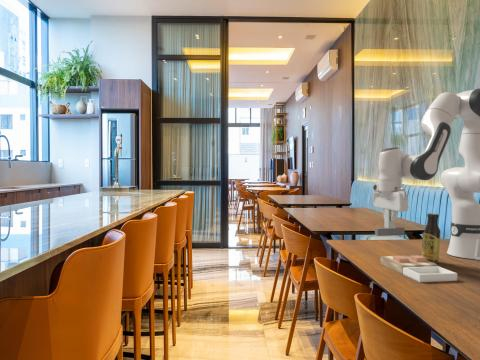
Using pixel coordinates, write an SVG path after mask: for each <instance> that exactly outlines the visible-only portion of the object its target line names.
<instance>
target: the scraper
mask: <svg viewBox="0 0 480 360" xmlns="http://www.w3.org/2000/svg"><path fill="white" fill-rule="evenodd" d="M391 215H392V213H391V210H389V209H384V214H383V220H384V221H383V222H384V223H383V224H384V226H383V227H374V236H377V237H387V236H389V237H390V236H392V237H393V236H405V227H403V226H396V221H390V217H391Z"/></svg>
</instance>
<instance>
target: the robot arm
mask: <svg viewBox="0 0 480 360" xmlns="http://www.w3.org/2000/svg"><path fill="white" fill-rule="evenodd" d="M462 118H463V122H464V124H463V127H462V129H461V130H462V131H461V135H460V140H459V145H458V154H459V155H460V156H461V157H462V158H463V160H464V166H455V167H451V168H447V169H445V170H443V172H442V173H441V175H440V183H441V185H442V187H443V188H445V190H446V191H447V193H448V196H449V200H450V201H451V202H450V203H451V222H450V240H449V244H448V248H447V251H446V253H447V254H448V255H449V256H453V257H456V258H457V257H458V258H463V259H470V260H476V261H477V260H478V261H480V203H479V202H478V201H477V200H476V198H475V196H474V195H475V194H474V193H477V194H478V193H479V194H480V88H475V89H469V90H463V91H462V92H458V93H454V92H450V91H449V92H448V91H445V92H441V93H440V94H438V96H436V97H435V98H434V100H433V101H432V102H431V103H430V105H429V107H427V109H426V111H425V113H424V114H423V116H422V118H421V121H420V126H421V128H422V130H423V131H424V132H425V133H426V134H427V135H429V137H430V139H429V141H428V144H427V146H426V148H425V150H424V151H423V152H422V153H420V154H415V155H410V154H408V153H406V152H404V151H402V149H401V147H397V146H396V147H395V146H394V147H388V148H384V149H382V150H381V151H380V152H379V154H378V155H379V157H378V172H379V175H378V182H376V183H375V184H373V185H372V191H373V193H372V204H373V206H374V208H380V209H381V212H382V214H383V215H384V209H389V210H391V213H392V215H391V217H390V221H395V222H396V221H397V216H398V214H399V213H401V212H402V213H405V212H406V213H407V212H408V210H409V209H410V208H409V198H408V193H407V191H406V189H405V188H403V187H402V185H403V184H402V183H403V182H402V180H403V179H410V180H421V181H429V180H431V179H433V178H434V177H436V174H437V172H438V171H439V170H438V169H439V165H440V160H441V158H442V155H443V153H444V151H445V148H446V145H447V144H448V141H449V139H450V136H451V133H452V130H451V129H452V128H451V125H452V123H453V122H454V120H455V119H462Z"/></svg>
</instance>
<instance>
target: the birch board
mask: <svg viewBox="0 0 480 360" xmlns="http://www.w3.org/2000/svg"><path fill="white" fill-rule="evenodd" d="M393 256H394V255H384V256H383V255H381V256H380V265H381V266H384V267H386V268H388V269H391V270H392V271H395V272H396V273H399V274H400V275H403V267H430V266H438V263H432V262H429V261H427V260H426V262H415V261H412V260H410V256H412V255H404V256H405V257H407V258H409V262H405V263H399V262H397V261H394V260H393Z"/></svg>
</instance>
